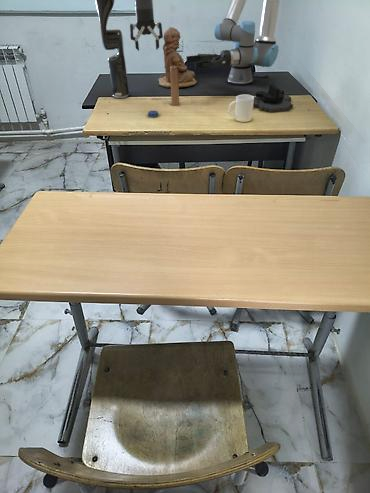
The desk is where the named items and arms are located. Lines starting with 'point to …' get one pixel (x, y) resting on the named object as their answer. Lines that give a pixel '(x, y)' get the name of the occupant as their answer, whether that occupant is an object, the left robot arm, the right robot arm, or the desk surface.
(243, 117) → the mug
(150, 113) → the lid
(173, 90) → the brown cylindrical tube
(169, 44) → the sculpture
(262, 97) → the abstract sculpture
